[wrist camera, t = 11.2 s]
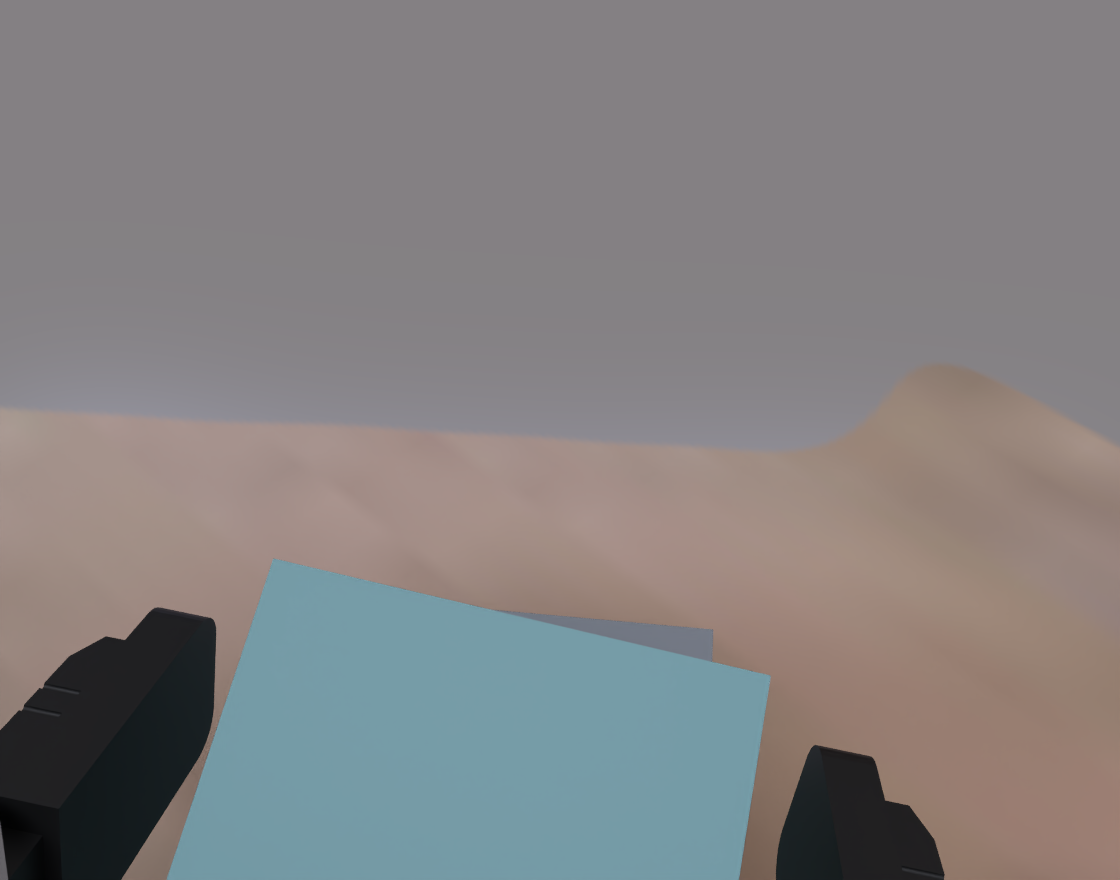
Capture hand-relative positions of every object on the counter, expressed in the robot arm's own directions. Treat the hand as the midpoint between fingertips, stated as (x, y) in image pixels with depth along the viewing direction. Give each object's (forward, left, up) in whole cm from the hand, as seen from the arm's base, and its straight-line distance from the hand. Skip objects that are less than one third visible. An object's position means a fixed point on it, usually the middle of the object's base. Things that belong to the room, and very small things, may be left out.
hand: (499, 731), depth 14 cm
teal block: (0, -1, -7) cm, 7 cm away
